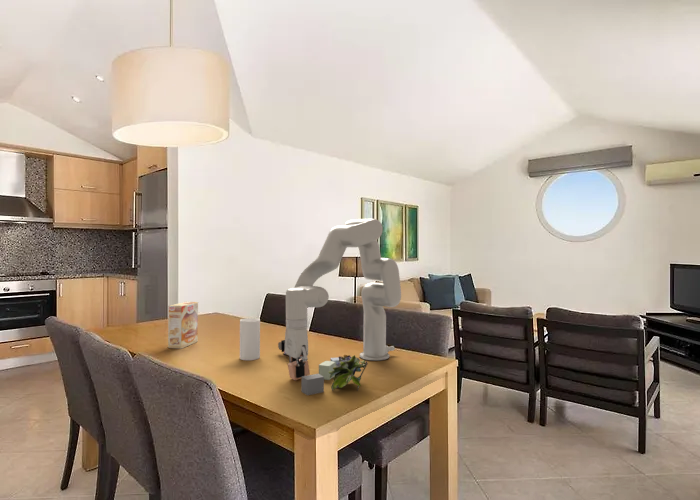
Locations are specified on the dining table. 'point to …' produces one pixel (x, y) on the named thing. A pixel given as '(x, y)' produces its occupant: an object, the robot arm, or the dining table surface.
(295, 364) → the terracotta brick
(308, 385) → the charcoal brick
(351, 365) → the passion flower
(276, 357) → the dining table surface
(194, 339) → the coffeecake box
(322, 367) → the sage brick
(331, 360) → the slate-blue brick
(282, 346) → the figurine character
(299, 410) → the dining table surface
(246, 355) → the cup
